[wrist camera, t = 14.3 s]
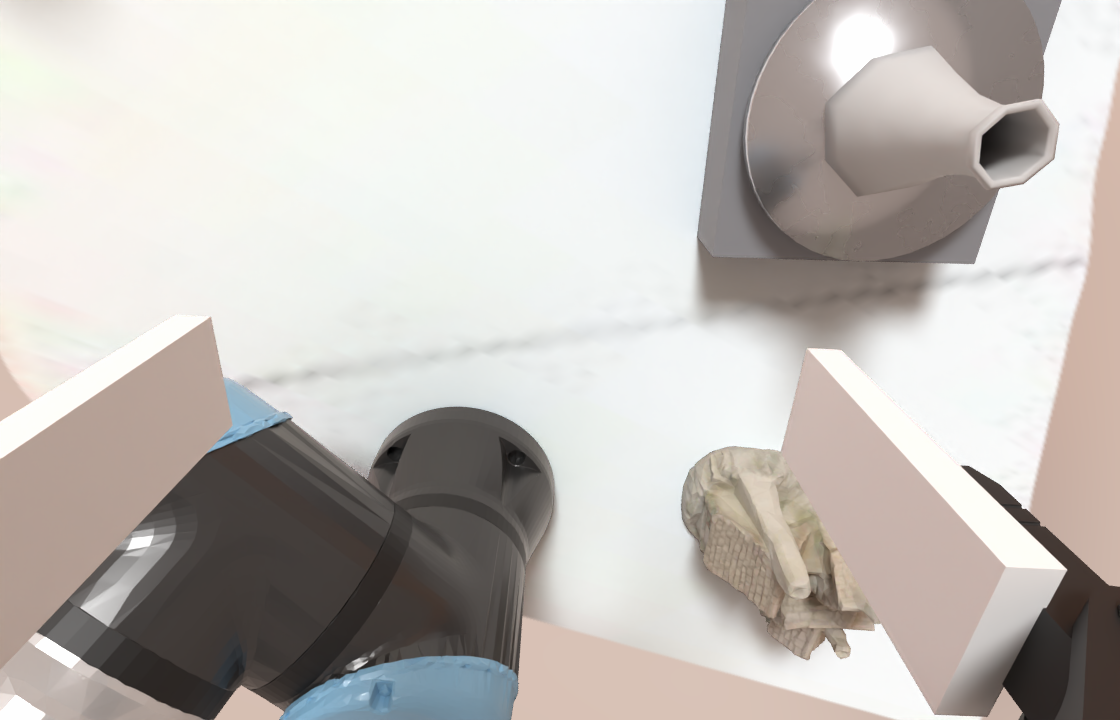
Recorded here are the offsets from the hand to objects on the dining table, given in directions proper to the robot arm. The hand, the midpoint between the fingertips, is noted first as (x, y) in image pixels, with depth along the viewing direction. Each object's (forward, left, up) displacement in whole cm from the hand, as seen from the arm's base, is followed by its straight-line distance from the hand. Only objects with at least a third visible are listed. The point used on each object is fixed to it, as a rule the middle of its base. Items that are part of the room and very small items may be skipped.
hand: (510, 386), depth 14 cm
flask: (+4, -18, -23) cm, 29 cm away
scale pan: (+4, -18, -23) cm, 30 cm away
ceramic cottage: (-29, -19, -30) cm, 45 cm away
